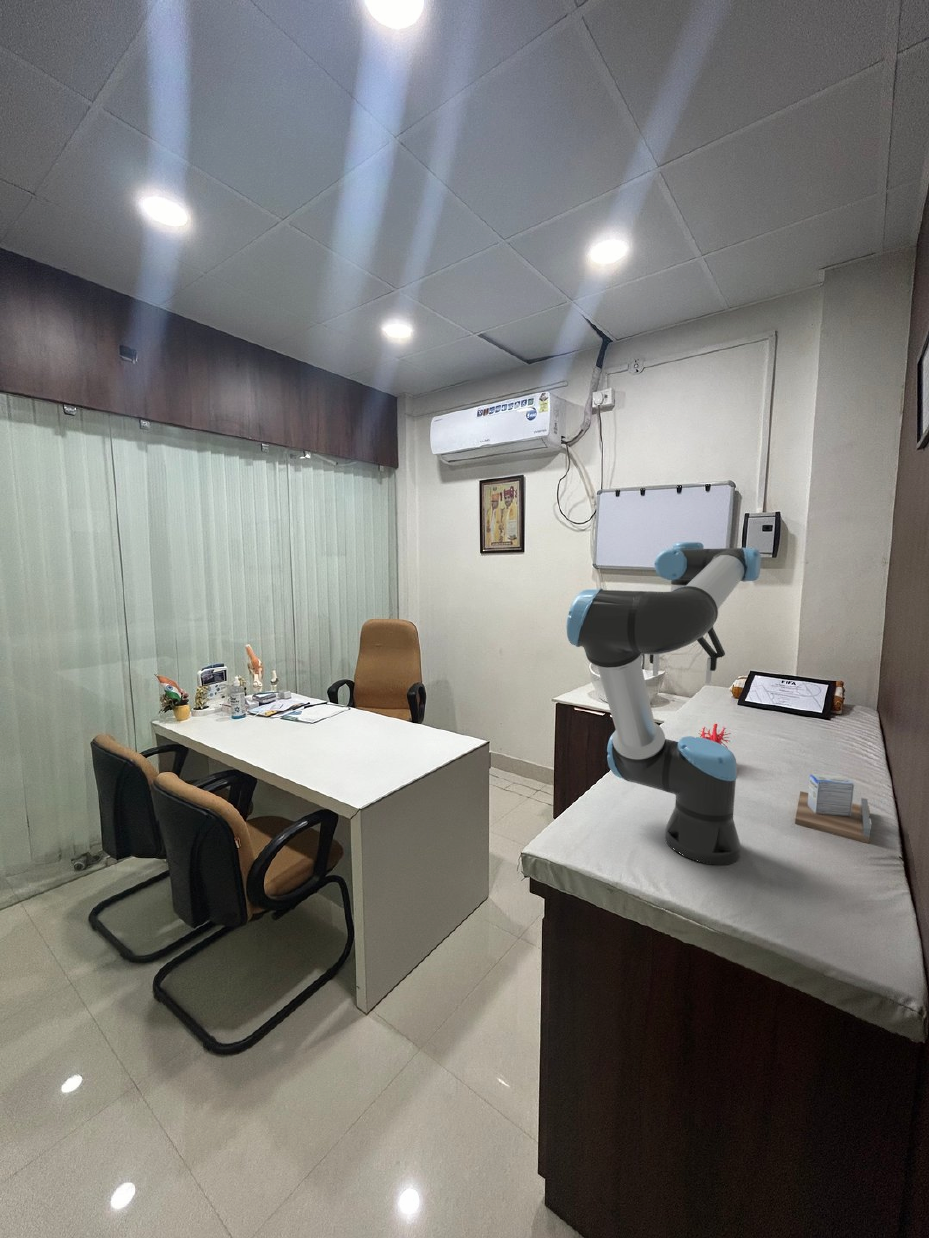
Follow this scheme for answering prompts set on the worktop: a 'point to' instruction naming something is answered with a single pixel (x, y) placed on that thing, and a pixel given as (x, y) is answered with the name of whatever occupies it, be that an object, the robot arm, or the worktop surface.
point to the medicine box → (830, 794)
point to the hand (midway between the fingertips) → (681, 678)
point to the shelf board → (836, 820)
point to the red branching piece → (715, 735)
